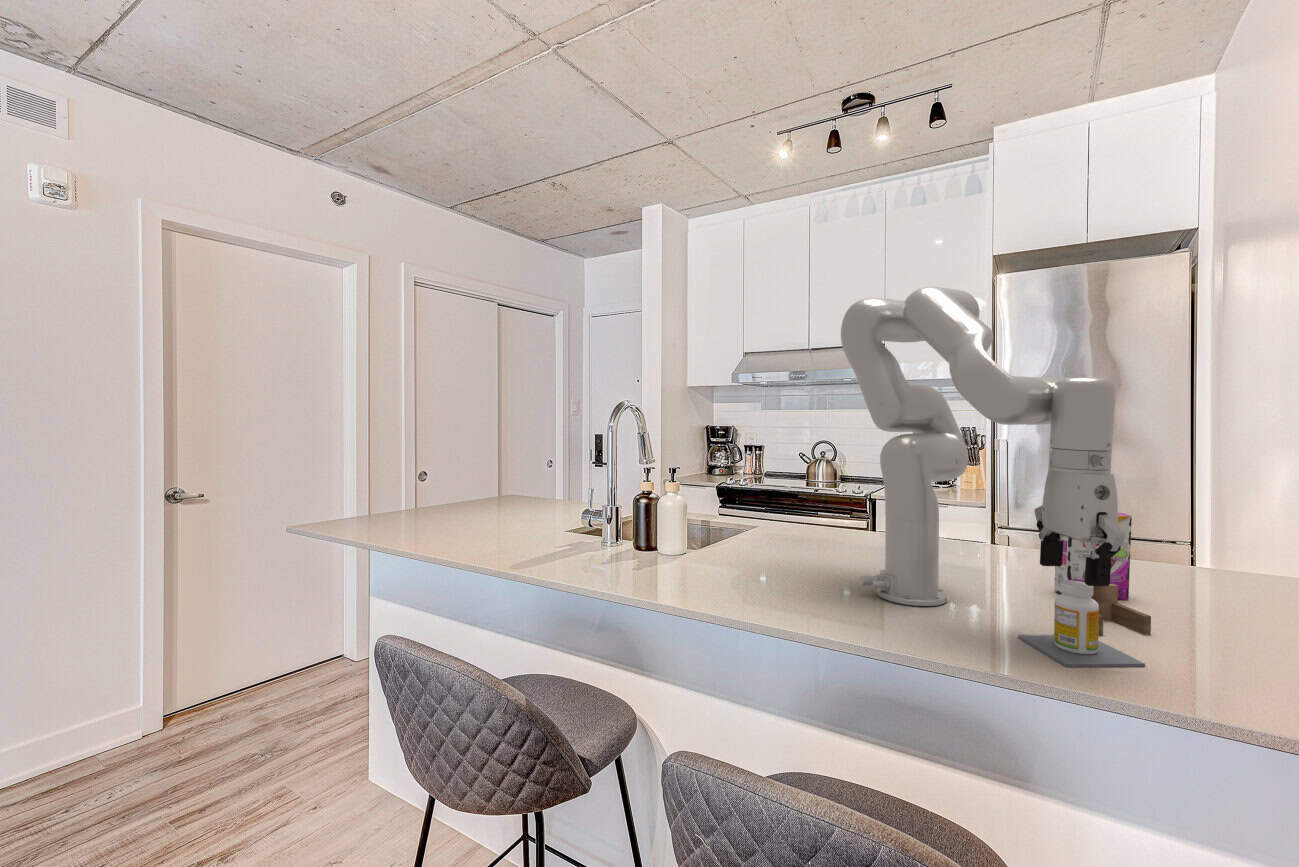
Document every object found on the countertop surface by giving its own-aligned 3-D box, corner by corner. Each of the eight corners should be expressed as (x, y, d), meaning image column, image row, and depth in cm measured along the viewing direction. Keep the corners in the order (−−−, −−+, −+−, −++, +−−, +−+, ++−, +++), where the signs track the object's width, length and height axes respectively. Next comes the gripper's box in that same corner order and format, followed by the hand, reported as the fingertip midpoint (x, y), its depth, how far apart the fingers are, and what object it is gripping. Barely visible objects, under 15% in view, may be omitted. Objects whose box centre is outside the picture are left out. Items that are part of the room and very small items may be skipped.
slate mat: (1066, 667, 84) (1066, 664, 84) (1017, 637, 95) (1018, 635, 95) (1145, 666, 84) (1145, 663, 84) (1087, 637, 95) (1087, 635, 95)
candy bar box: (1068, 599, 114) (1069, 513, 114) (1053, 591, 119) (1054, 509, 119) (1131, 601, 113) (1133, 514, 113) (1113, 593, 118) (1115, 510, 118)
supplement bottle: (1090, 643, 91) (1091, 580, 91) (1104, 657, 86) (1105, 590, 86) (1049, 639, 93) (1049, 577, 92) (1060, 652, 88) (1061, 587, 87)
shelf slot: (1096, 635, 96) (1097, 597, 95) (1063, 618, 103) (1063, 584, 103) (1150, 634, 96) (1151, 597, 95) (1112, 618, 103) (1113, 583, 103)
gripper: (1153, 468, 80) (1145, 594, 81) (1064, 455, 97) (1058, 559, 98) (1097, 468, 80) (1090, 594, 81) (1017, 455, 97) (1012, 559, 98)
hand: (1072, 575), depth 90 cm, fingers open, 9 cm apart
